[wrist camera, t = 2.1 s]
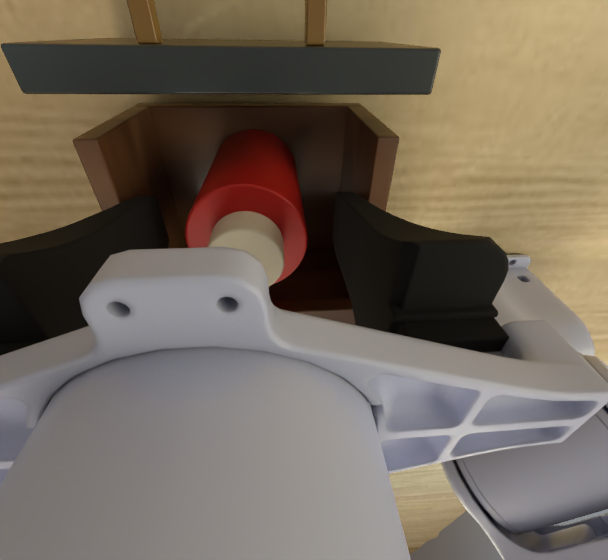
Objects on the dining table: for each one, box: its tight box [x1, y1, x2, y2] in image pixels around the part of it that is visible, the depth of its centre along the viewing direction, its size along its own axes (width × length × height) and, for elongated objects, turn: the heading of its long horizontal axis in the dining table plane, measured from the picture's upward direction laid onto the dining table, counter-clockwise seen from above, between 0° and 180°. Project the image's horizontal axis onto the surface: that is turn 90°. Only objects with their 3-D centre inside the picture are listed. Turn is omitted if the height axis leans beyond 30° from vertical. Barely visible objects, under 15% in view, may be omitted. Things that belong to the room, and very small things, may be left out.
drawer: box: [1, 0, 441, 302], centre depth 14 cm, size 16×12×7 cm
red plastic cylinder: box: [185, 129, 308, 286], centre depth 14 cm, size 4×4×8 cm
